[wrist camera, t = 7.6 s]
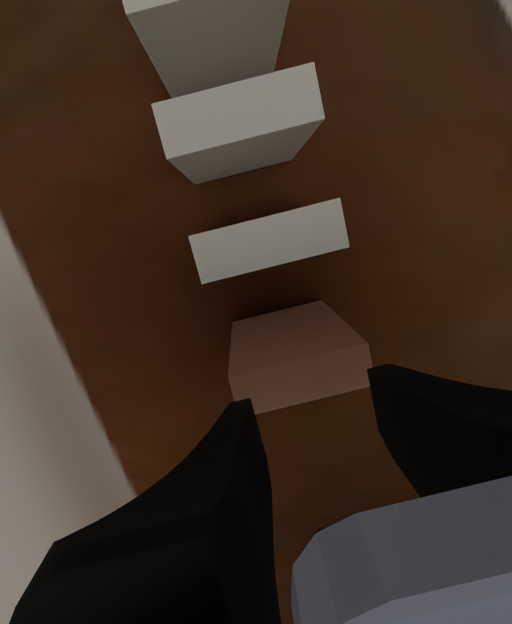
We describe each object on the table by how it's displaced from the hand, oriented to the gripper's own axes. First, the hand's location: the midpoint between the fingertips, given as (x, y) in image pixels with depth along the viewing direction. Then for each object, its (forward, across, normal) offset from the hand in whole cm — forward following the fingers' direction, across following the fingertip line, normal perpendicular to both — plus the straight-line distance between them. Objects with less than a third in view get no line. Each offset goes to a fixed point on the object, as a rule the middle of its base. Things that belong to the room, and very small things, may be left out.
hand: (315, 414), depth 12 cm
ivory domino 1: (+10, 0, -13) cm, 17 cm away
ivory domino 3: (+10, 0, -5) cm, 12 cm away
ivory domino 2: (+10, 0, -9) cm, 14 cm away
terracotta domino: (+10, 0, 0) cm, 10 cm away
